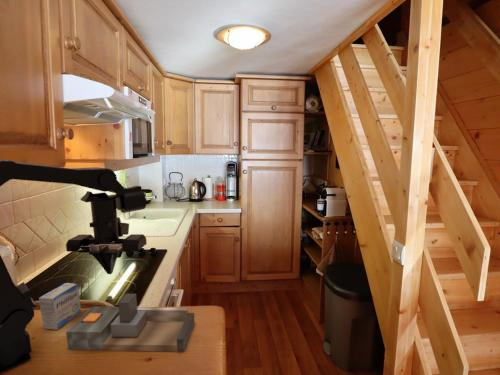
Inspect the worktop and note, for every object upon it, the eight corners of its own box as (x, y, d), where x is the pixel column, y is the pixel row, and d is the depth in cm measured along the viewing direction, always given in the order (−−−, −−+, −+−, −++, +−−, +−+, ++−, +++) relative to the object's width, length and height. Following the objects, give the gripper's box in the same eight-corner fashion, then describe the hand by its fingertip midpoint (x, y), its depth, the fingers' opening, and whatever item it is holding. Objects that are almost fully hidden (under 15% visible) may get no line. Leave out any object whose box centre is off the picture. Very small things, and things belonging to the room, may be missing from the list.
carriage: (111, 336, 65) (108, 304, 64) (123, 321, 71) (120, 291, 70) (137, 336, 65) (134, 304, 64) (146, 321, 71) (144, 292, 70)
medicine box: (57, 331, 71) (53, 298, 69) (42, 329, 72) (38, 297, 70) (81, 312, 78) (78, 283, 77) (68, 311, 79) (64, 282, 78)
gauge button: (84, 334, 67) (82, 320, 67) (91, 326, 70) (89, 313, 69) (96, 334, 67) (94, 320, 66) (102, 326, 70) (101, 313, 69)
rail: (68, 349, 64) (66, 331, 63) (94, 322, 74) (92, 306, 73) (184, 351, 63) (183, 333, 62) (194, 323, 73) (193, 307, 72)
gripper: (152, 209, 80) (156, 261, 83) (88, 209, 81) (93, 261, 83) (135, 219, 69) (139, 279, 72) (61, 219, 70) (68, 278, 72)
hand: (110, 273), depth 75 cm, fingers closed
